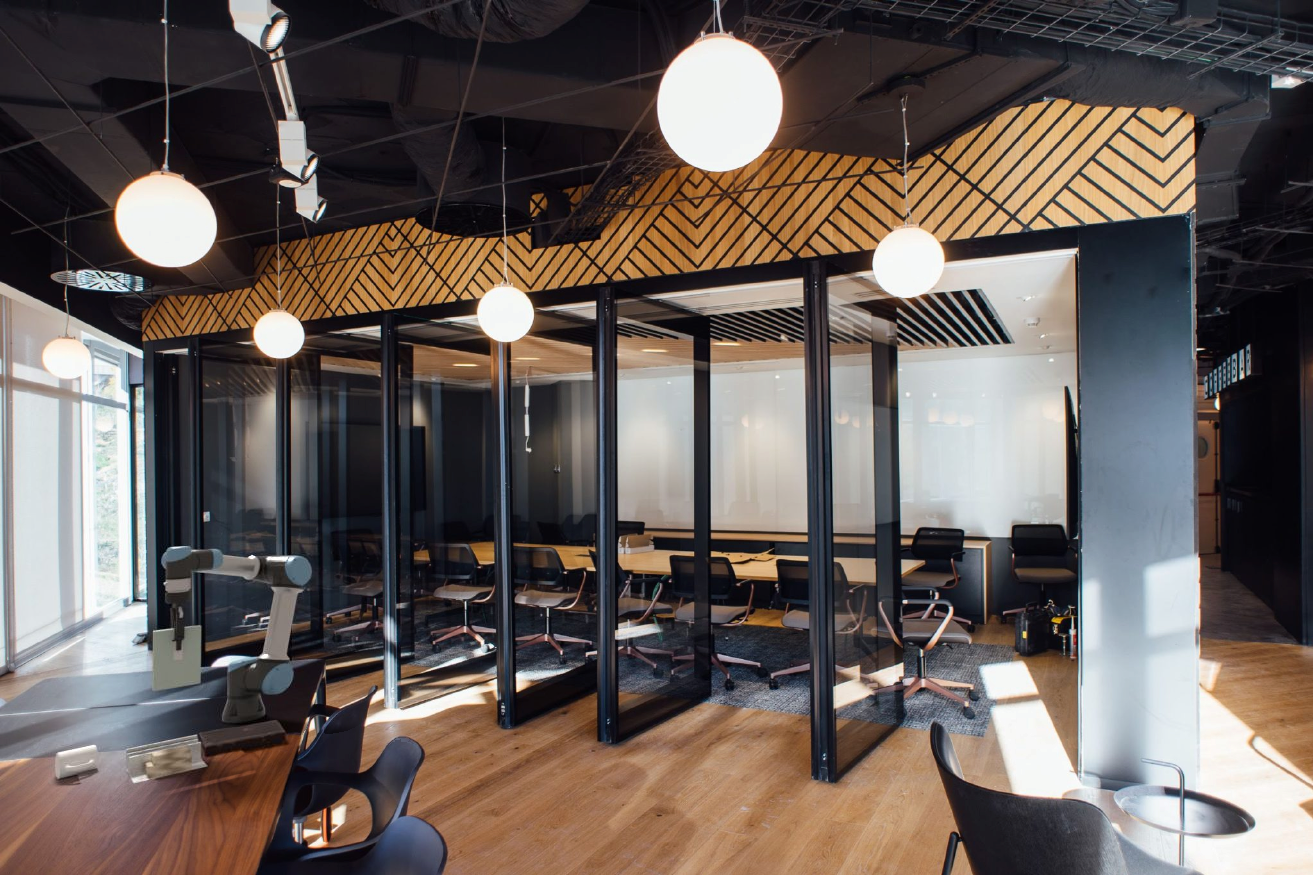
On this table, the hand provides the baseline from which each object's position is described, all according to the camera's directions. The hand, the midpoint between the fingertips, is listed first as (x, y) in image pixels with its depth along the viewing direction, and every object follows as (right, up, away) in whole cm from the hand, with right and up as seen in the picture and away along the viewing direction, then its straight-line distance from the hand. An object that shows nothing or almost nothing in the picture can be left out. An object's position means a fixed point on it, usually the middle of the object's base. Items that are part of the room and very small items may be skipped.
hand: (177, 658), depth 263 cm
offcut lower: (+10, -30, -20) cm, 37 cm away
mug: (-20, -32, -20) cm, 42 cm away
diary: (+19, -33, +7) cm, 39 cm away
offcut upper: (+10, -27, -20) cm, 35 cm away
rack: (+8, -31, -17) cm, 36 cm away
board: (0, -9, -1) cm, 10 cm away
